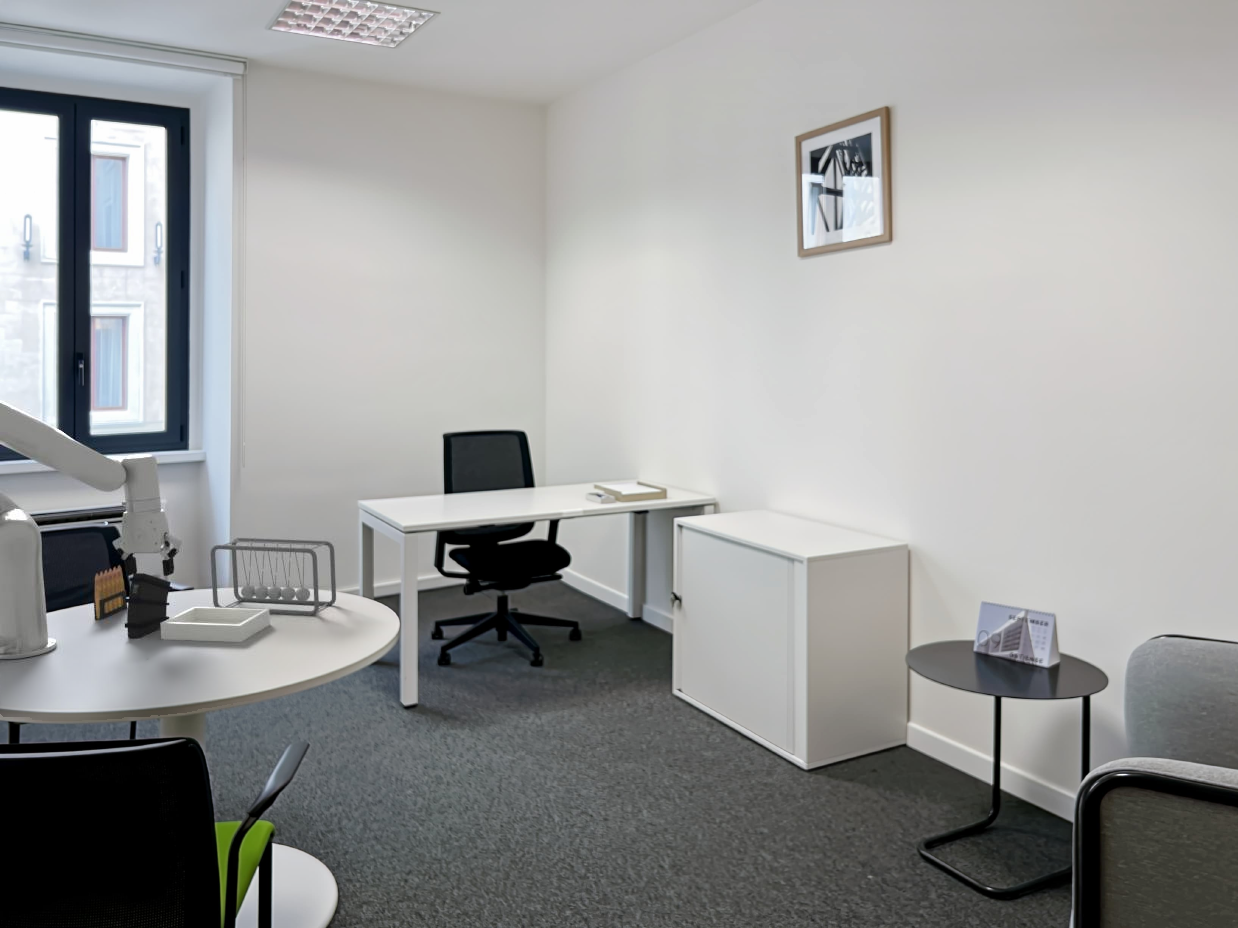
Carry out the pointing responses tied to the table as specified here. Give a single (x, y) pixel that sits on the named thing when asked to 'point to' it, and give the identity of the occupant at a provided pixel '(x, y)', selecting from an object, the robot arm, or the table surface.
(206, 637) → the parts tray
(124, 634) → the table surface
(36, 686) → the table surface
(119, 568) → the ammunition clip
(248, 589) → the newton's cradle
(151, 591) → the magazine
